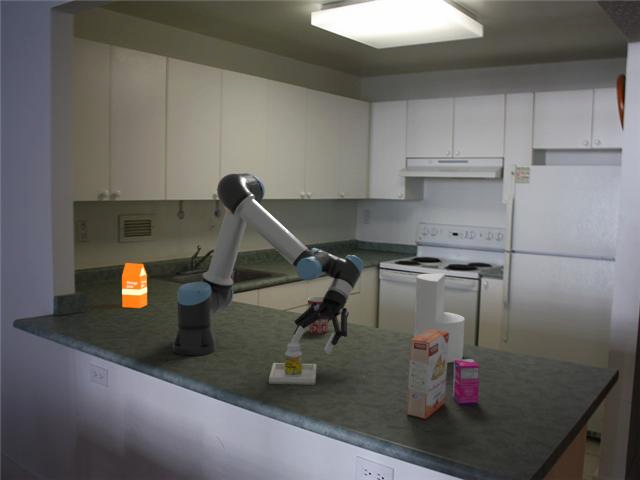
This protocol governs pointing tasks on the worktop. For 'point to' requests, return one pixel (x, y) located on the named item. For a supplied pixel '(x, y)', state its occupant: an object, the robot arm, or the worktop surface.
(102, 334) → the worktop surface
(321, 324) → the mug
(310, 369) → the tray
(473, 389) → the supplement box
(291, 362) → the supplement bottle
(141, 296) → the orange juice
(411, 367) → the cracker box
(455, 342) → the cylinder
